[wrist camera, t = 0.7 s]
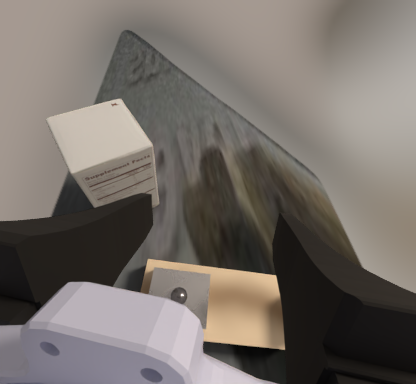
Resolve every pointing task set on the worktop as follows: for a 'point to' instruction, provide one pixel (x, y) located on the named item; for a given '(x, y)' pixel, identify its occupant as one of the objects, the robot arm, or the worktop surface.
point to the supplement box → (106, 152)
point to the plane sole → (236, 305)
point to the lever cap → (183, 289)
